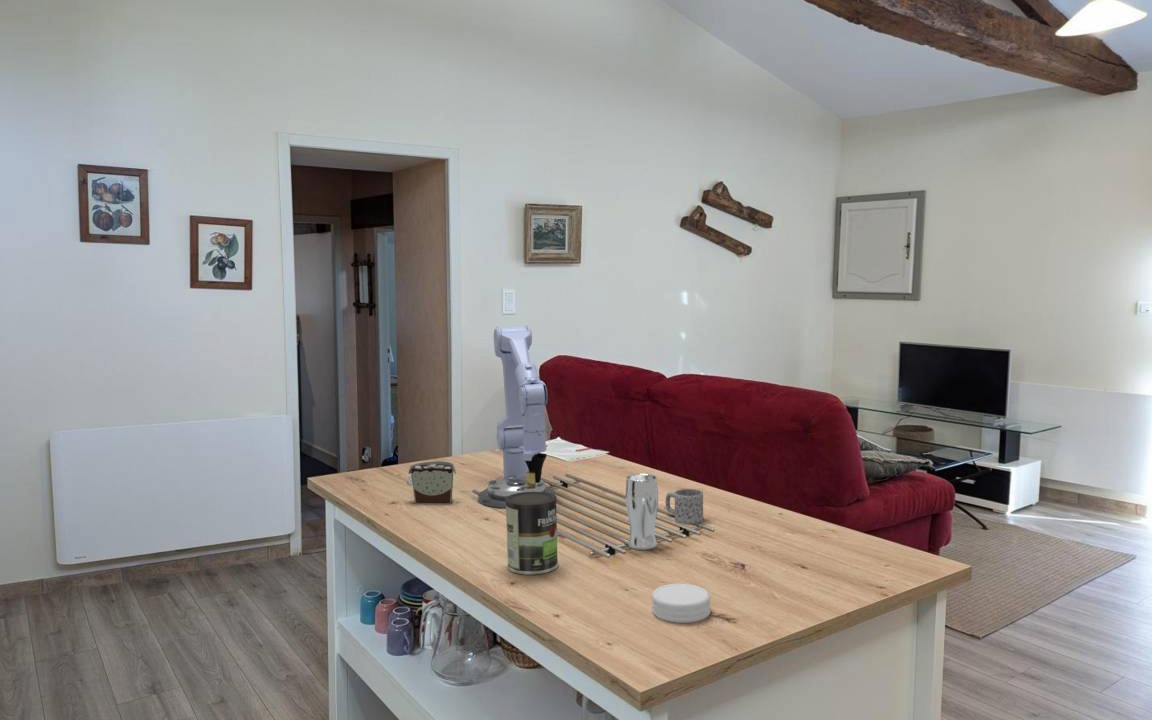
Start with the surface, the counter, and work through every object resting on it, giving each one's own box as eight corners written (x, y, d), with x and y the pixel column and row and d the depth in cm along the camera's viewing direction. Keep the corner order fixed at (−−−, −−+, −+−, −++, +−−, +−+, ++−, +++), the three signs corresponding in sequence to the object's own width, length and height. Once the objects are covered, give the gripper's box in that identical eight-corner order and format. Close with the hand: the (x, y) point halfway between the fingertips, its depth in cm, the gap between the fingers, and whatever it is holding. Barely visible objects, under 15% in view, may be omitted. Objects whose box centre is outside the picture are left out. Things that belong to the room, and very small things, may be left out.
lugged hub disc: (521, 482, 230) (520, 459, 229) (556, 492, 219) (556, 468, 218) (476, 493, 220) (475, 469, 219) (511, 504, 209) (510, 478, 208)
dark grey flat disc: (500, 485, 233) (500, 481, 233) (566, 491, 225) (566, 486, 225) (464, 504, 214) (464, 499, 214) (535, 511, 207) (534, 506, 207)
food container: (462, 498, 221) (460, 460, 220) (456, 504, 215) (455, 466, 214) (416, 497, 222) (414, 460, 221) (409, 504, 216) (408, 466, 215)
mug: (708, 519, 198) (708, 491, 197) (692, 526, 193) (692, 497, 192) (674, 511, 204) (674, 485, 204) (657, 518, 199) (657, 490, 199)
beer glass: (637, 553, 175) (636, 482, 173) (620, 544, 181) (619, 476, 179) (665, 547, 178) (664, 478, 176) (647, 538, 184) (646, 471, 183)
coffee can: (568, 562, 170) (566, 494, 169) (539, 578, 161) (537, 507, 160) (526, 554, 176) (524, 488, 174) (496, 569, 167) (494, 500, 165)
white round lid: (645, 620, 142) (644, 600, 141) (660, 598, 151) (660, 579, 151) (703, 628, 138) (703, 607, 138) (715, 605, 147) (715, 586, 147)
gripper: (527, 424, 223) (528, 474, 224) (510, 435, 209) (512, 488, 210) (552, 425, 221) (553, 475, 223) (538, 436, 207) (539, 489, 209)
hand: (535, 482), depth 216 cm, fingers closed, pressing on lugged hub disc
